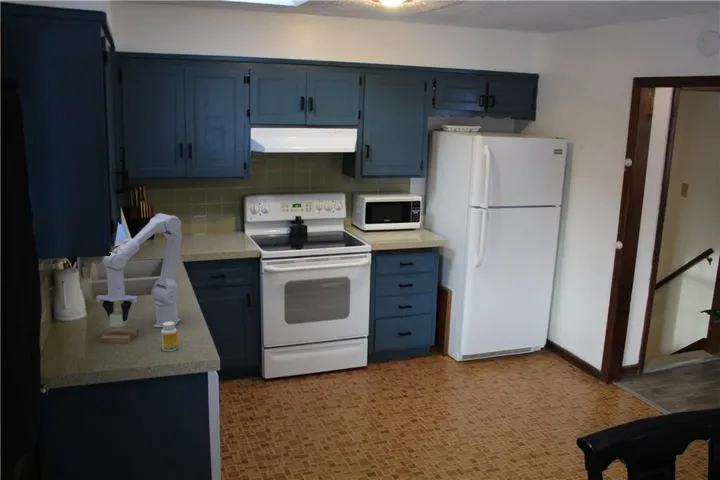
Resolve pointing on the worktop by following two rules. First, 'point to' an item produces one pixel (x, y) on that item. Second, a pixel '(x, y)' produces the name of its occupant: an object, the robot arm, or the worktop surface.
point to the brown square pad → (119, 335)
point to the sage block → (117, 319)
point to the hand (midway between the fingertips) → (118, 320)
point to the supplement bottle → (169, 336)
